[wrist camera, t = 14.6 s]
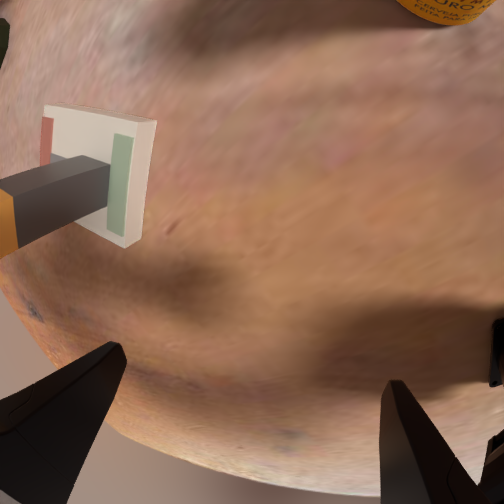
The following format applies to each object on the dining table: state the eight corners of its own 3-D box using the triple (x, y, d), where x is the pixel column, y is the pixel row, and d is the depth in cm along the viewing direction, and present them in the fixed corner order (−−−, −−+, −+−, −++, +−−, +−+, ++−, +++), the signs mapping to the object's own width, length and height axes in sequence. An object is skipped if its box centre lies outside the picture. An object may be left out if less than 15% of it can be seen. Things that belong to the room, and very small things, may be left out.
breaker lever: (110, 164, 18) (-36, 217, 9) (107, 206, 19) (-24, 272, 10) (82, 154, 19) (-51, 199, 10) (80, 194, 20) (-42, 249, 11)
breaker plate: (157, 120, 18) (135, 122, 16) (141, 238, 23) (122, 249, 21) (62, 102, 20) (43, 105, 19) (57, 197, 25) (39, 203, 23)
